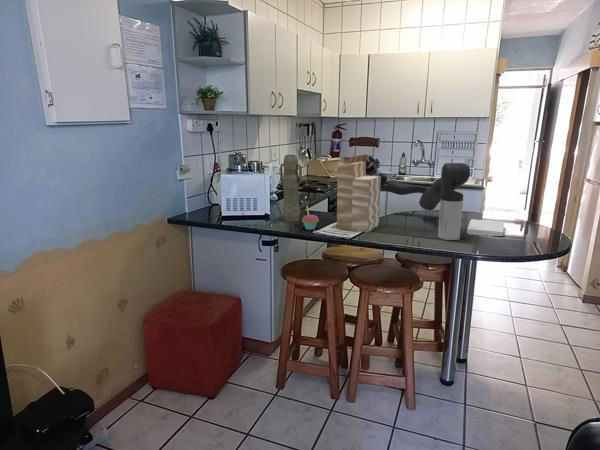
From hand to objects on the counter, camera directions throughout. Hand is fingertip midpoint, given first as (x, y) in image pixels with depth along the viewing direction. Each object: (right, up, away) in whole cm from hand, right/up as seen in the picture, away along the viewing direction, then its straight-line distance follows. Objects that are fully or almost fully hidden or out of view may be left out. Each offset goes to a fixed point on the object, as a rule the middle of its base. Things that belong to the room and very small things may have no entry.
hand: (361, 156), depth 205 cm
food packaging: (+57, -38, -13) cm, 70 cm away
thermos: (-36, -33, +13) cm, 50 cm away
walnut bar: (-3, -3, -5) cm, 7 cm away
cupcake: (-26, -37, -6) cm, 46 cm away
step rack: (-2, -36, -4) cm, 36 cm away
